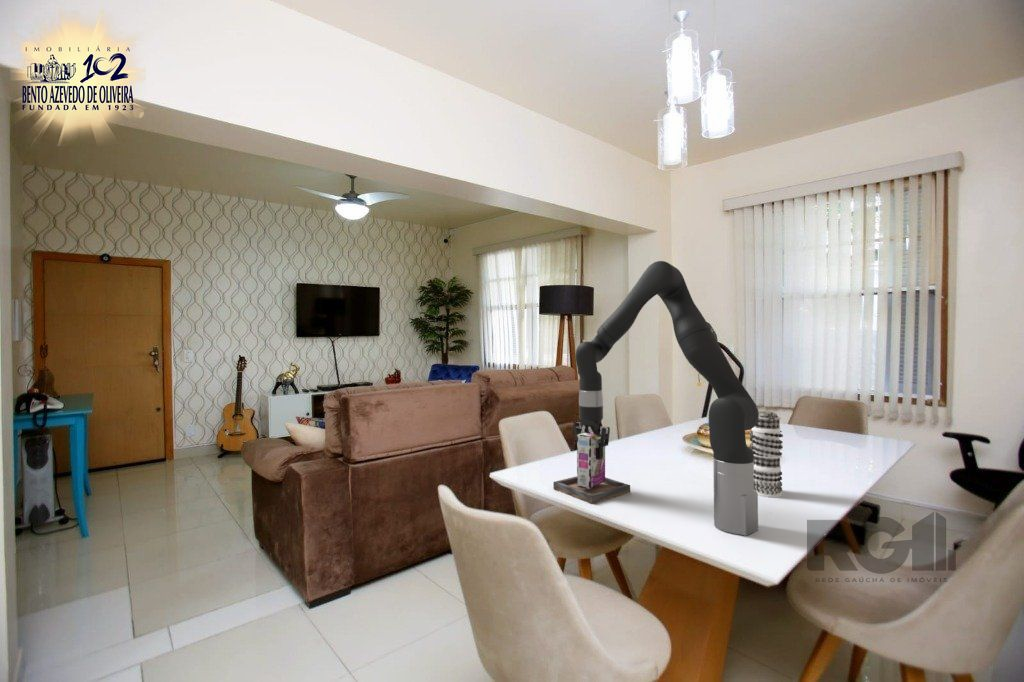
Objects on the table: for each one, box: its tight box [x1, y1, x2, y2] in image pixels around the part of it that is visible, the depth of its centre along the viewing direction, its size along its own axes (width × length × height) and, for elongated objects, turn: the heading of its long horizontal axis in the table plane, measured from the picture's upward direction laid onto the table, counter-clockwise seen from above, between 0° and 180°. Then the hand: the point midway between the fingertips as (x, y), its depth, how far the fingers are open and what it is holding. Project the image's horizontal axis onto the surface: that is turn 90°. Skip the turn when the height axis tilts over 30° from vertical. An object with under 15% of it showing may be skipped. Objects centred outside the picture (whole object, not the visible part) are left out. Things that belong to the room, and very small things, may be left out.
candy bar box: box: [576, 432, 606, 489], centre depth 145 cm, size 11×5×16 cm, turn 144°
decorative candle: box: [748, 410, 784, 498], centre depth 142 cm, size 9×9×25 cm
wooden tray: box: [553, 475, 631, 505], centre depth 145 cm, size 17×17×2 cm
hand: (591, 457), depth 145 cm, fingers closed on candy bar box, 6 cm apart
